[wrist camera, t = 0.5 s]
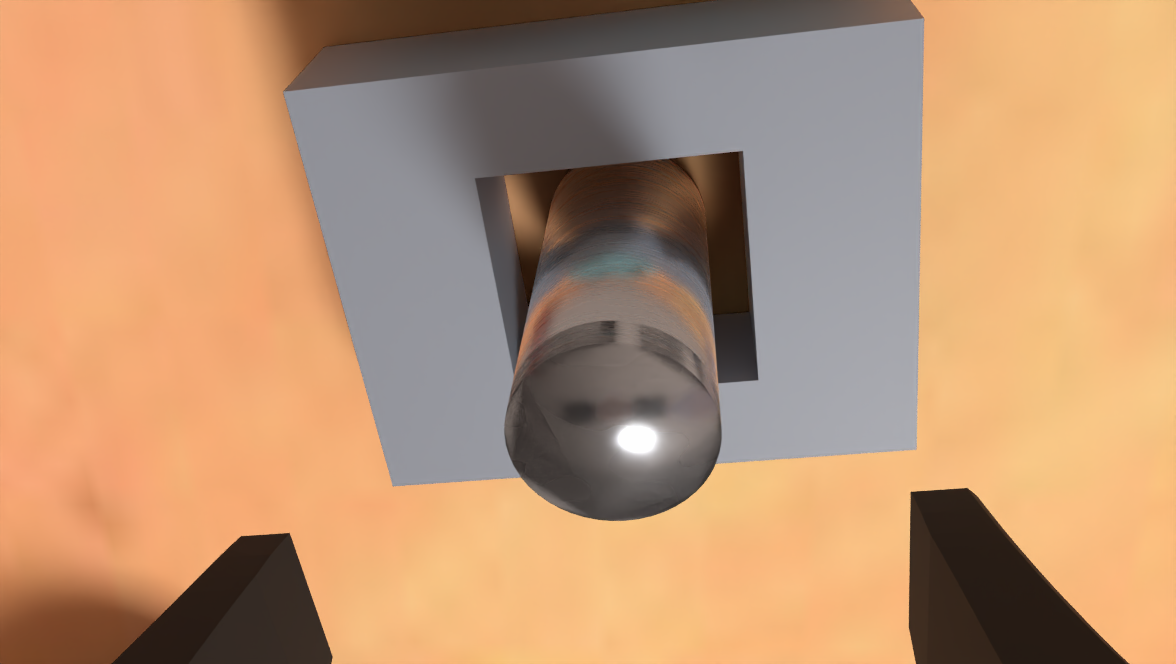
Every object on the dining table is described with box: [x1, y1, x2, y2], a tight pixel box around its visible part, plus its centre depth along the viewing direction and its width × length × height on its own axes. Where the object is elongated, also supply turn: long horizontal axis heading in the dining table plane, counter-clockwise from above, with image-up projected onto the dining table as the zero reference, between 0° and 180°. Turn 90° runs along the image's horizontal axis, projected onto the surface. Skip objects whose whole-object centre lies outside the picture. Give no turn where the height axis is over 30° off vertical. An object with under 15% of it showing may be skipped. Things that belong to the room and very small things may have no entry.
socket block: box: [283, 0, 924, 486], centre depth 20 cm, size 10×8×2 cm
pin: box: [504, 159, 722, 521], centre depth 18 cm, size 3×3×7 cm
